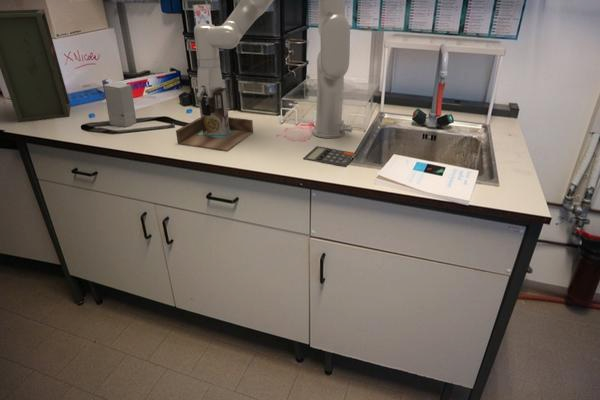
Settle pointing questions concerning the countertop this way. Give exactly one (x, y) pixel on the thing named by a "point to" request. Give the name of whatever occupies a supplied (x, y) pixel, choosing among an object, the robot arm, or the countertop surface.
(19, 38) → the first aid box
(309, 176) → the countertop surface
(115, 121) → the skincare box
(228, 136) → the tray
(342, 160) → the calculator
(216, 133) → the coffee box
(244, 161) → the countertop surface
